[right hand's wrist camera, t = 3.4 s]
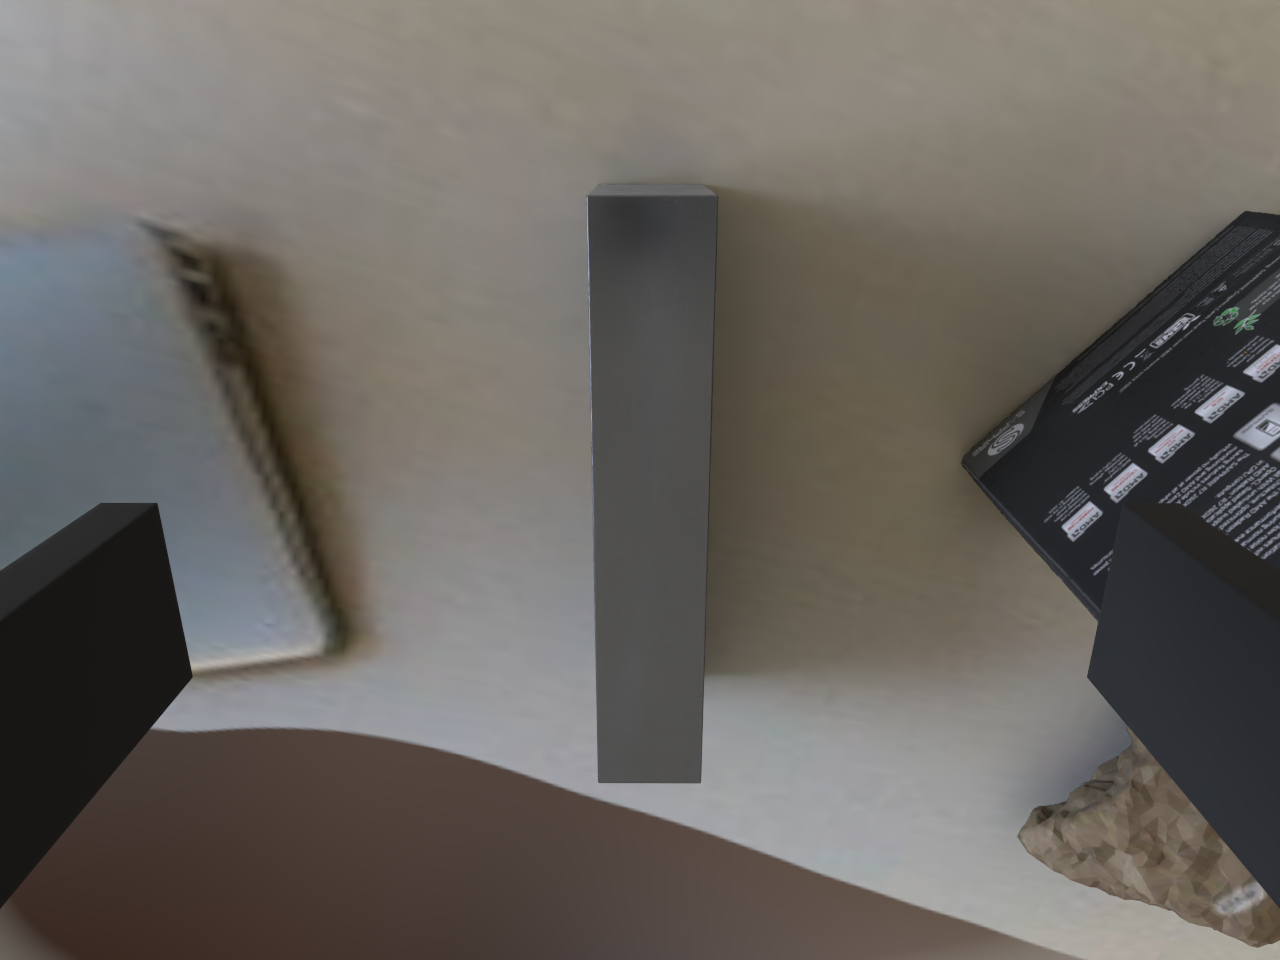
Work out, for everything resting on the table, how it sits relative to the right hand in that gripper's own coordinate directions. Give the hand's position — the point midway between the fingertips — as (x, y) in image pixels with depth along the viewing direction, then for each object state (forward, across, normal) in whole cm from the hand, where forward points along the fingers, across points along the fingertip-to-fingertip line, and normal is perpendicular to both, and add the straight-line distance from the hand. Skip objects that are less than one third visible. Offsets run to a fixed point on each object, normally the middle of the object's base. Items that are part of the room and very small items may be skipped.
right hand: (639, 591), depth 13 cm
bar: (+31, 0, -9) cm, 33 cm away
